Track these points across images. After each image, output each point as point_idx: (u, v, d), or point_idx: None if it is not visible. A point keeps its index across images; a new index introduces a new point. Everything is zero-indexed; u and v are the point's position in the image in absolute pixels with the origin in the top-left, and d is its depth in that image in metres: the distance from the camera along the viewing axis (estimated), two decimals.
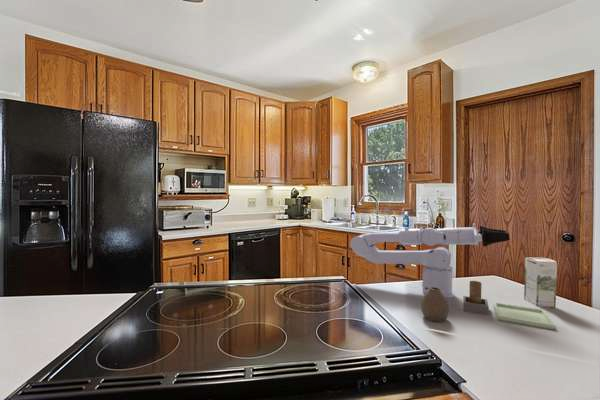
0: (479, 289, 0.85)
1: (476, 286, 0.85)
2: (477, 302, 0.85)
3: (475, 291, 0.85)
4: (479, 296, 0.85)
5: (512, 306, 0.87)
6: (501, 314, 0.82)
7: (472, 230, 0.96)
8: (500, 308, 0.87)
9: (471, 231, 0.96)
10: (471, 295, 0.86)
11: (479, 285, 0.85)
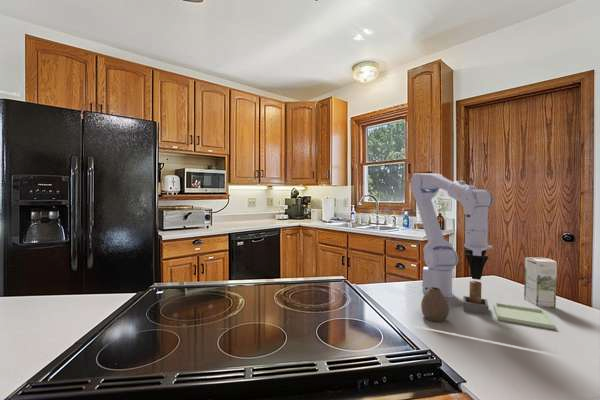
0: (479, 289, 0.85)
1: (476, 286, 0.85)
2: (477, 302, 0.85)
3: (475, 291, 0.85)
4: (479, 296, 0.85)
5: (512, 306, 0.87)
6: (501, 314, 0.82)
7: (484, 245, 0.84)
8: (500, 308, 0.87)
9: (483, 243, 0.84)
10: (471, 295, 0.86)
11: (479, 285, 0.85)
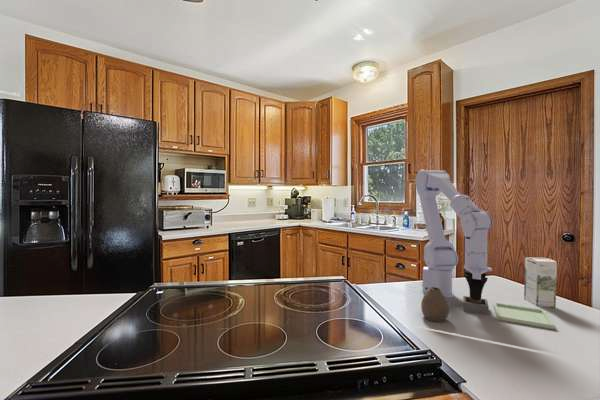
0: None
1: None
2: (477, 302, 0.85)
3: None
4: None
5: (512, 306, 0.87)
6: (501, 314, 0.82)
7: (484, 267, 0.84)
8: (500, 308, 0.87)
9: (483, 266, 0.84)
10: None
11: None
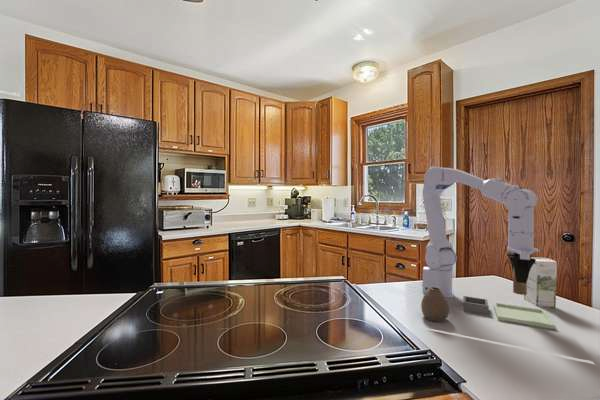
0: None
1: None
2: (523, 285, 0.80)
3: None
4: None
5: (512, 306, 0.87)
6: (501, 314, 0.82)
7: (530, 248, 0.79)
8: (500, 308, 0.87)
9: (530, 246, 0.79)
10: None
11: None
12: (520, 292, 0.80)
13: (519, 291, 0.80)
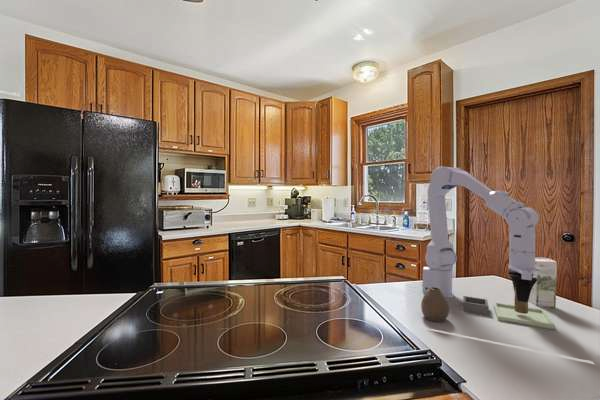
0: None
1: None
2: (524, 304, 0.80)
3: None
4: None
5: (512, 306, 0.87)
6: (501, 314, 0.82)
7: (532, 267, 0.79)
8: (500, 308, 0.87)
9: (531, 266, 0.79)
10: None
11: None
12: (521, 311, 0.80)
13: (520, 310, 0.80)
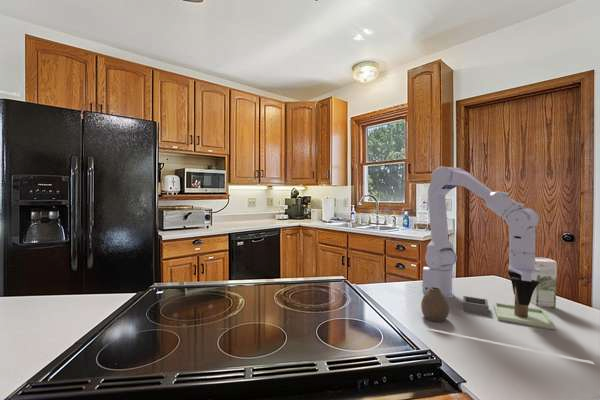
0: None
1: None
2: (524, 308, 0.80)
3: None
4: None
5: (512, 306, 0.87)
6: (501, 314, 0.82)
7: (532, 268, 0.79)
8: (500, 308, 0.87)
9: (531, 267, 0.79)
10: (517, 301, 0.81)
11: None
12: (521, 315, 0.80)
13: (520, 314, 0.80)
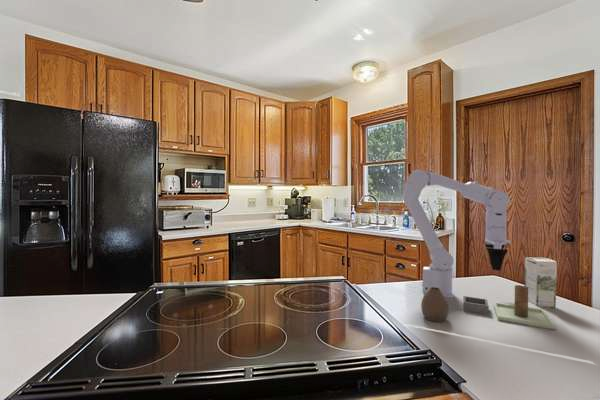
0: (526, 294, 0.80)
1: (523, 291, 0.80)
2: (524, 308, 0.80)
3: (522, 297, 0.80)
4: (526, 302, 0.80)
5: (512, 306, 0.87)
6: (501, 314, 0.82)
7: (503, 240, 0.94)
8: (500, 308, 0.87)
9: (503, 238, 0.94)
10: (517, 301, 0.81)
11: (526, 290, 0.80)
12: (521, 315, 0.80)
13: (520, 314, 0.80)
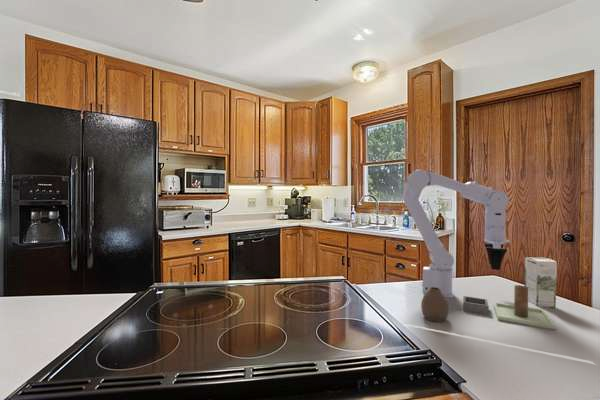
0: (526, 294, 0.80)
1: (523, 291, 0.80)
2: (524, 308, 0.80)
3: (522, 297, 0.80)
4: (526, 302, 0.80)
5: (512, 306, 0.87)
6: (501, 314, 0.82)
7: (502, 239, 0.95)
8: (500, 308, 0.87)
9: (502, 238, 0.95)
10: (517, 301, 0.81)
11: (526, 290, 0.80)
12: (521, 315, 0.80)
13: (520, 314, 0.80)
